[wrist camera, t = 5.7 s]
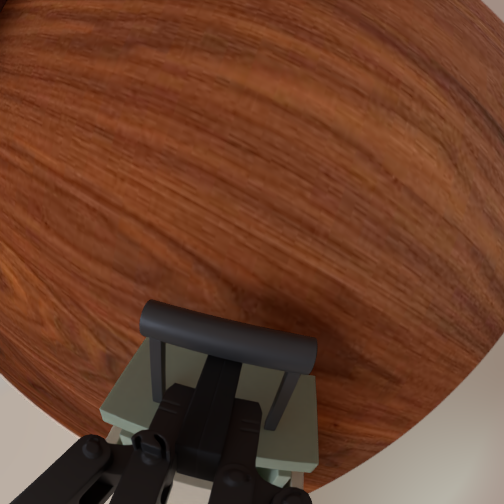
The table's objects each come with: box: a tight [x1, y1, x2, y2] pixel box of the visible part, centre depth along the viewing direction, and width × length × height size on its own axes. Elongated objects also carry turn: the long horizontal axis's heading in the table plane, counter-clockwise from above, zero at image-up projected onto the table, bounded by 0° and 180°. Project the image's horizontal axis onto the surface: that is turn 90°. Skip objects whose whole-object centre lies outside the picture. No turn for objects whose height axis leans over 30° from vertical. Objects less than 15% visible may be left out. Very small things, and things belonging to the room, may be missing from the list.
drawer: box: [100, 300, 319, 488], centre depth 16 cm, size 20×11×7 cm, turn 169°
